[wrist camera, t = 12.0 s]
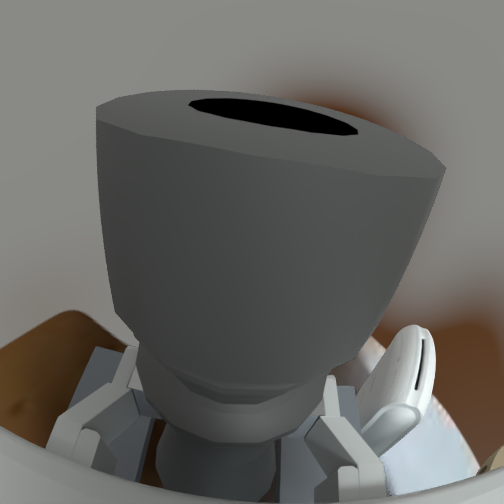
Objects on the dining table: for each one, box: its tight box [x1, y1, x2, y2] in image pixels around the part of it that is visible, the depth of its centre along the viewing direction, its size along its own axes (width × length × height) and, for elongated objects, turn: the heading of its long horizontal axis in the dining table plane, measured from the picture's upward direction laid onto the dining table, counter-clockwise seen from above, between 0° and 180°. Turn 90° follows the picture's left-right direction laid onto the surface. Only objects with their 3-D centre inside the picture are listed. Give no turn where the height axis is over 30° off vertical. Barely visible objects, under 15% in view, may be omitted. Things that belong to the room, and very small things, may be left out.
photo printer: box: [356, 325, 436, 458], centre depth 25 cm, size 10×4×12 cm, turn 152°
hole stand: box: [67, 346, 362, 504], centre depth 18 cm, size 20×16×9 cm
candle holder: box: [96, 90, 446, 502], centre depth 12 cm, size 6×6×25 cm
